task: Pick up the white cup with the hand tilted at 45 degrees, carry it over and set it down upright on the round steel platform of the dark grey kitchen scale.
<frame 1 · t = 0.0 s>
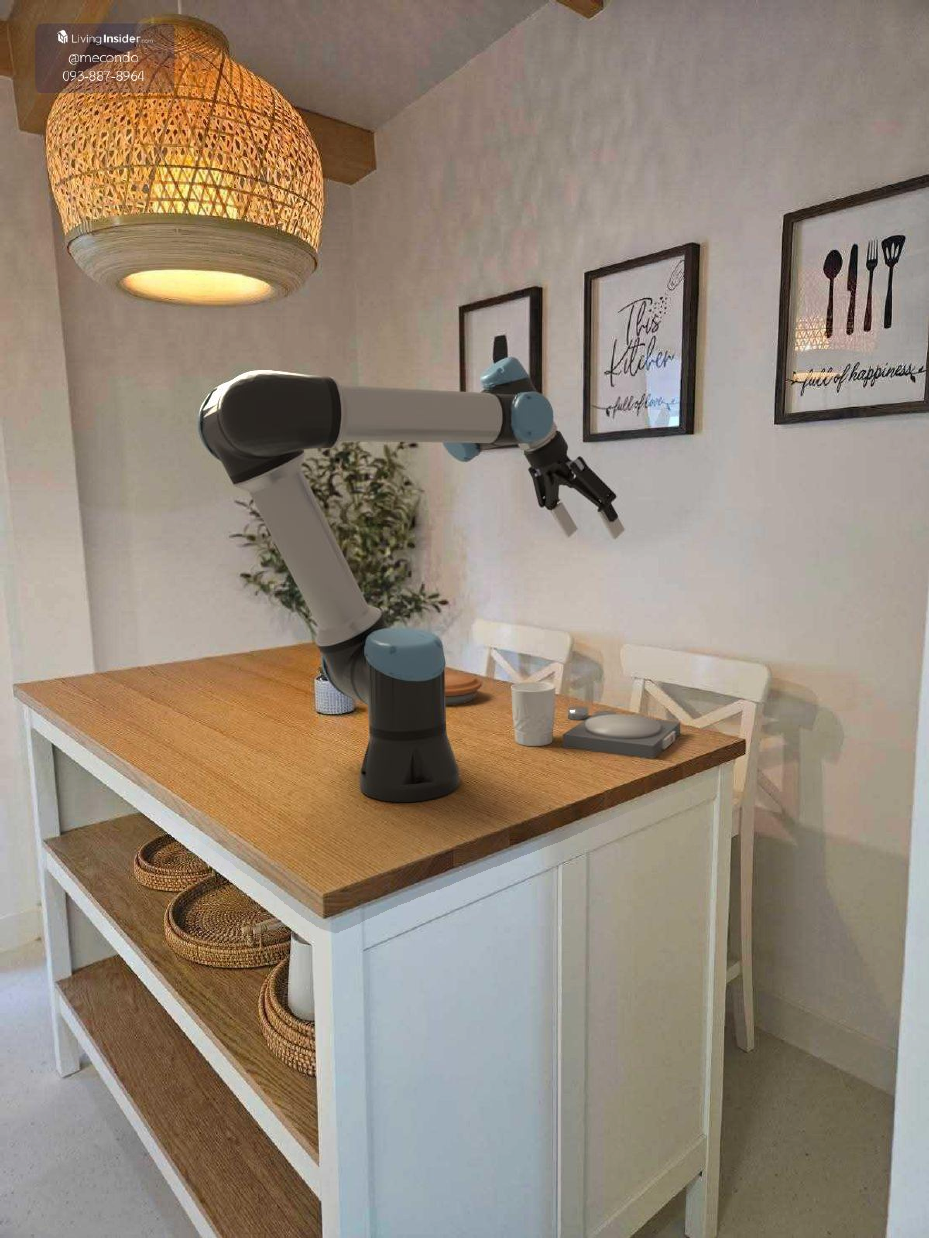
hand: (595, 533, 154), 36 cm above the table, tool tilted 35°, fingers open, 13 cm apart
spacer a: (605, 723, 156), on the table
scale: (622, 740, 144), on the table
spacer b: (578, 718, 160), on the table
pie: (447, 700, 179), on the table
white cup: (533, 742, 145), on the table
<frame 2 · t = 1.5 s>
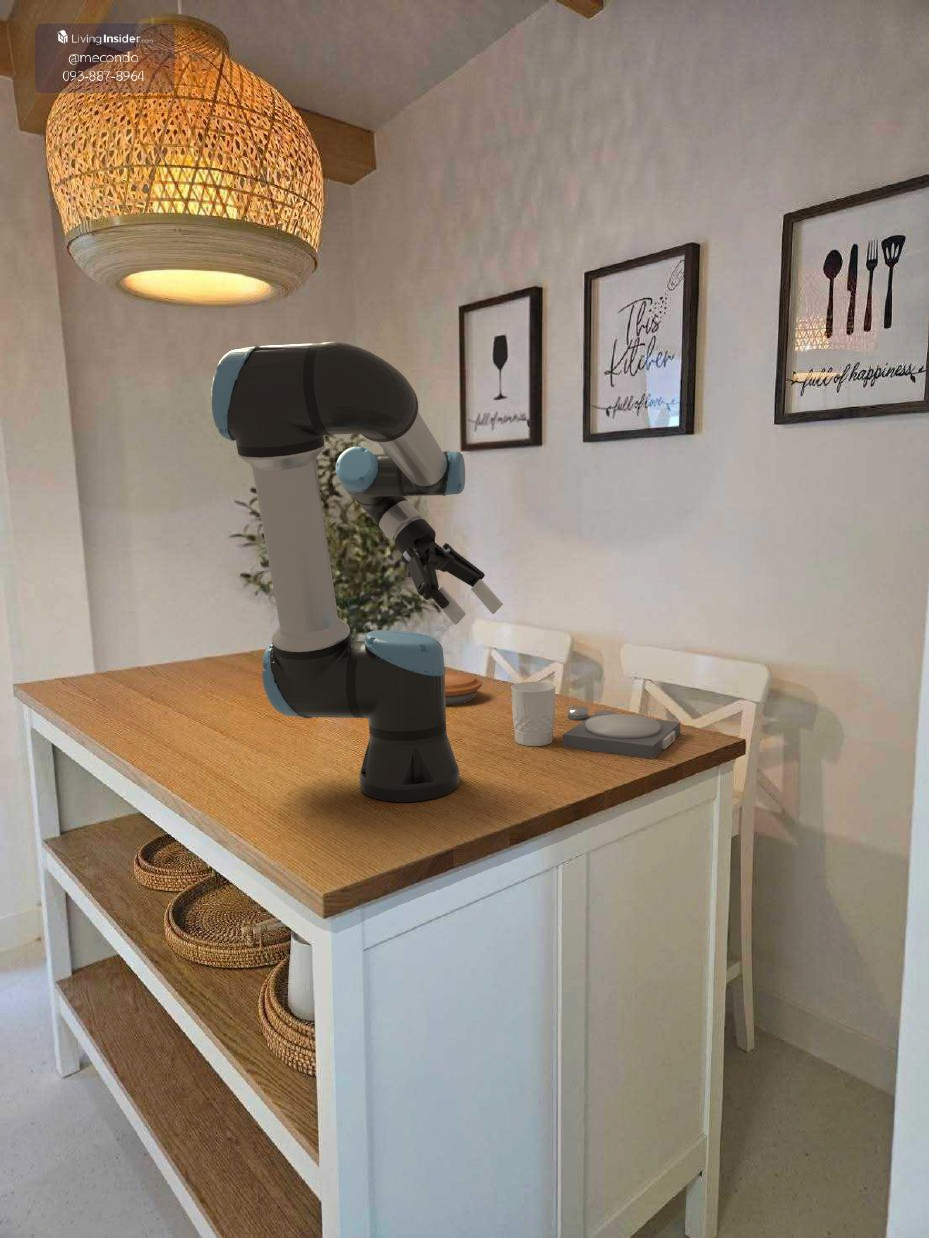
hand: (480, 614, 147), 22 cm above the table, tool tilted 45°, fingers open, 13 cm apart
nothing on the table moved.
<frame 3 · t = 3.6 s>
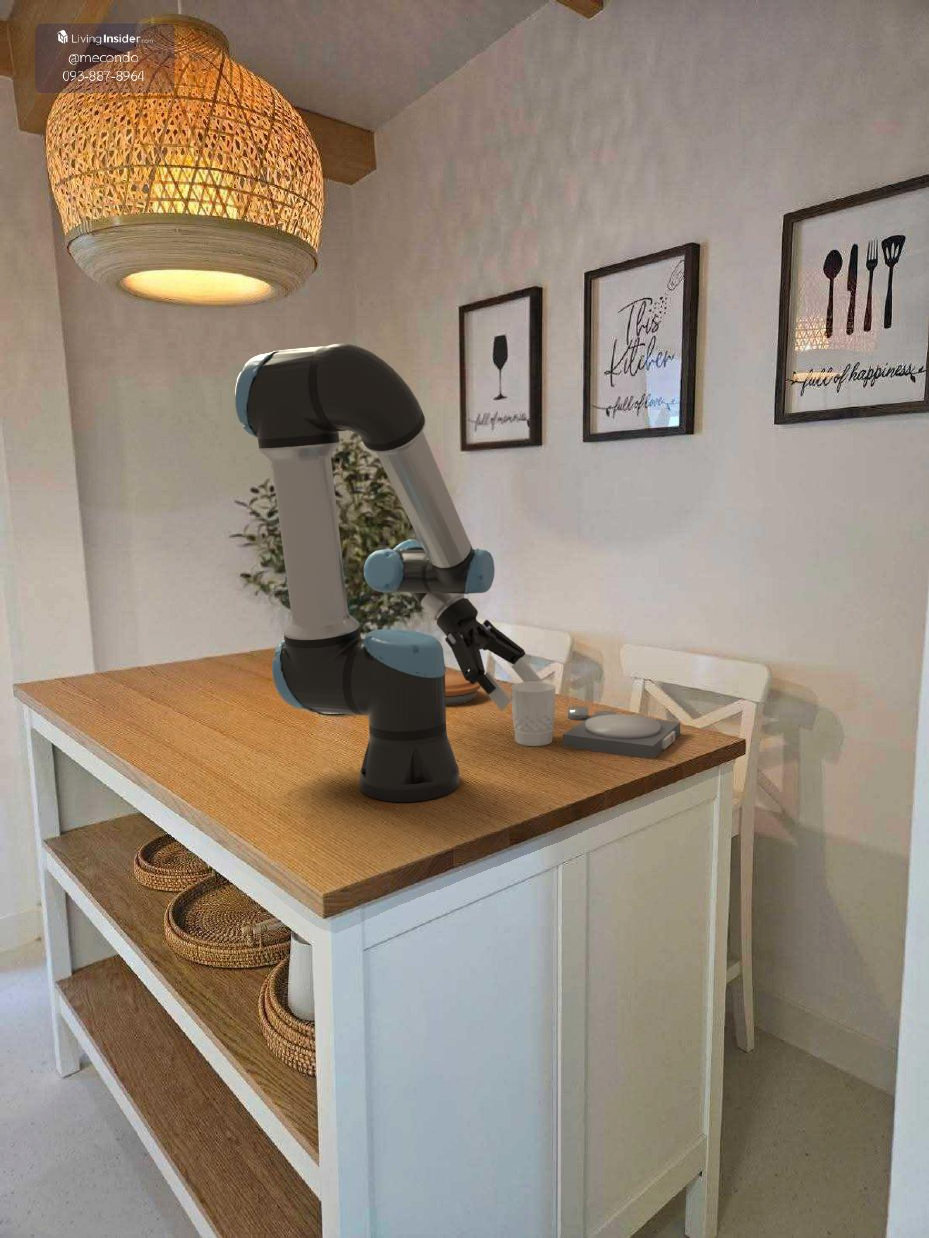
hand: (523, 696, 147), 7 cm above the table, tool tilted 45°, fingers open, 13 cm apart
nothing on the table moved.
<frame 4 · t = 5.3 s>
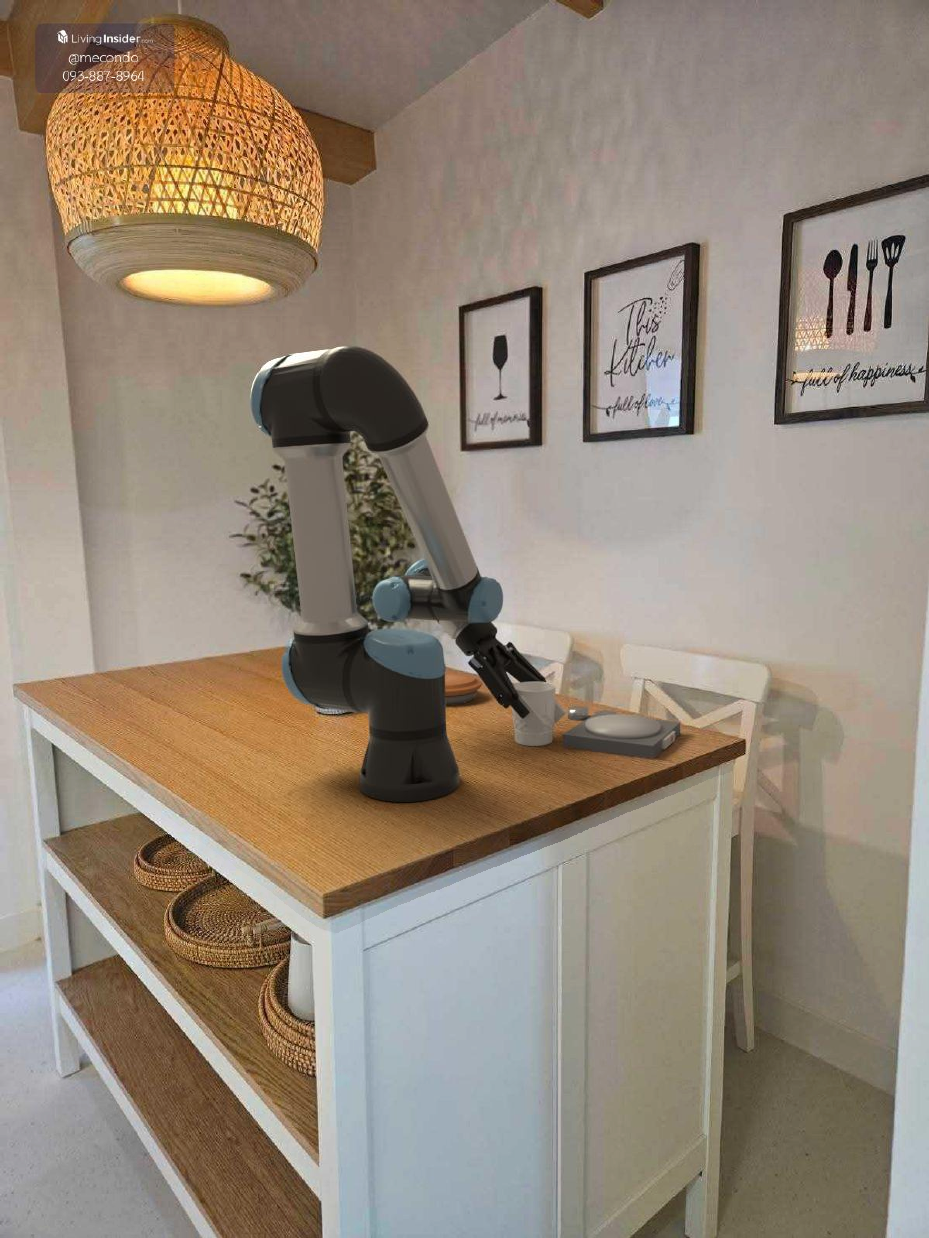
hand: (551, 723, 143), 4 cm above the table, tool tilted 45°, fingers closed on white cup, 8 cm apart
white cup: (534, 742, 145), on the table, touching gripper
everything else where it was.
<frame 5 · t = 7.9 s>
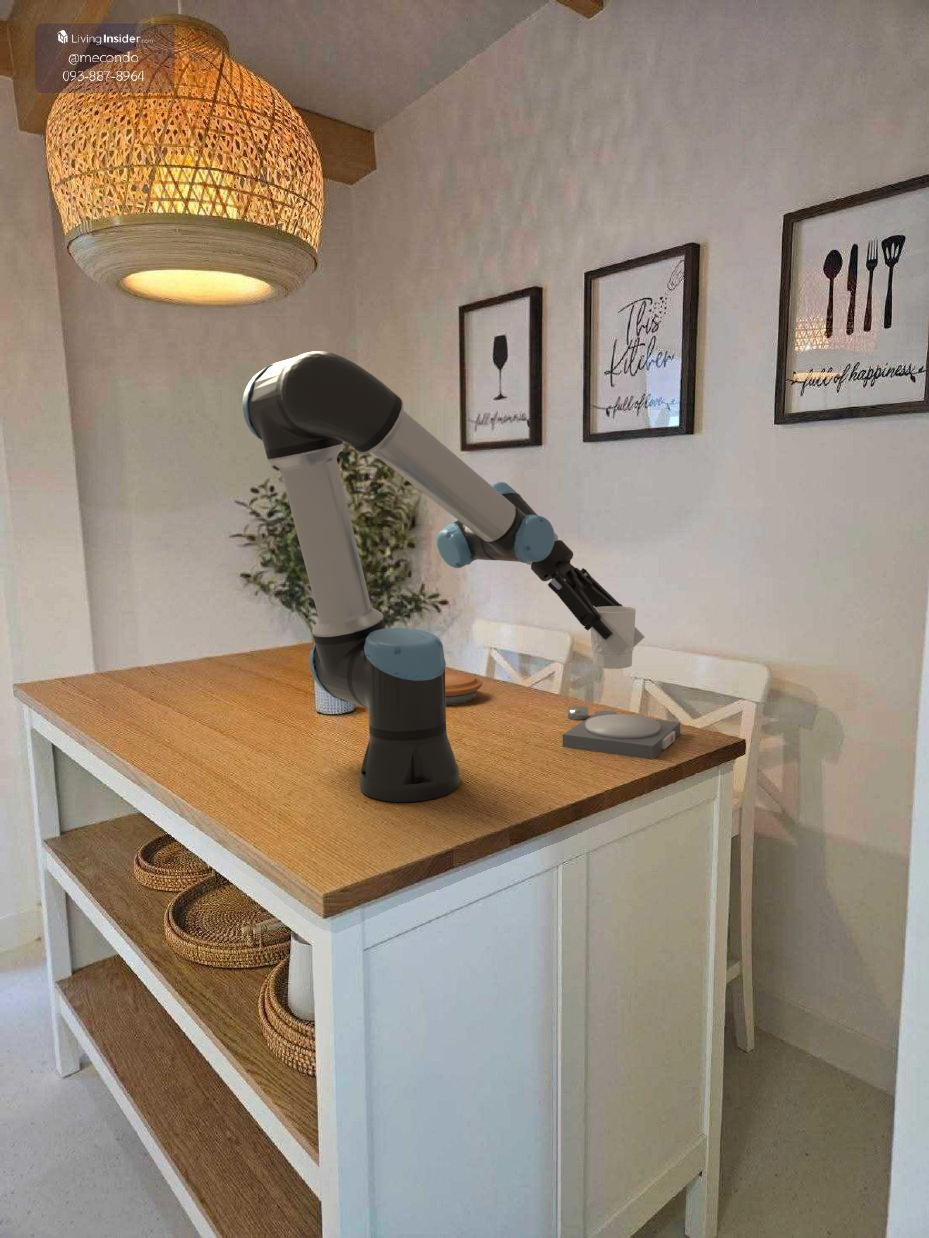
hand: (631, 646, 141), 17 cm above the table, tool tilted 45°, fingers closed on white cup, 8 cm apart
white cup: (612, 666, 143), point 13 cm above the table, touching gripper
everything else where it was.
when the fingers open (7 cm above the table, at t = 10.6 s): white cup stays where it is, resting on scale.
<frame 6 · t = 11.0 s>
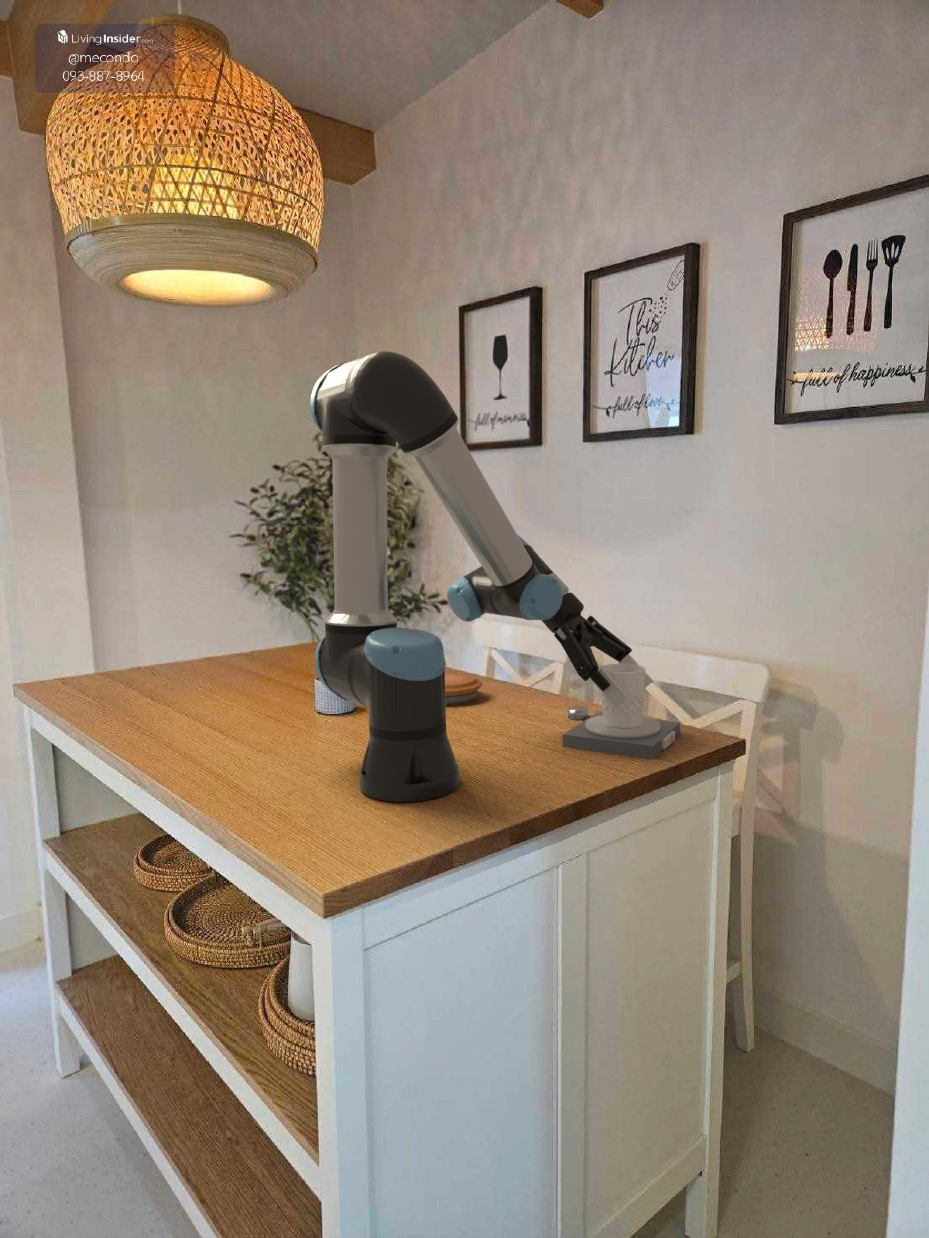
hand: (635, 693, 142), 9 cm above the table, tool tilted 45°, fingers open, 13 cm apart
white cup: (622, 724, 144), point 3 cm above the table, touching scale
everything else where it was.
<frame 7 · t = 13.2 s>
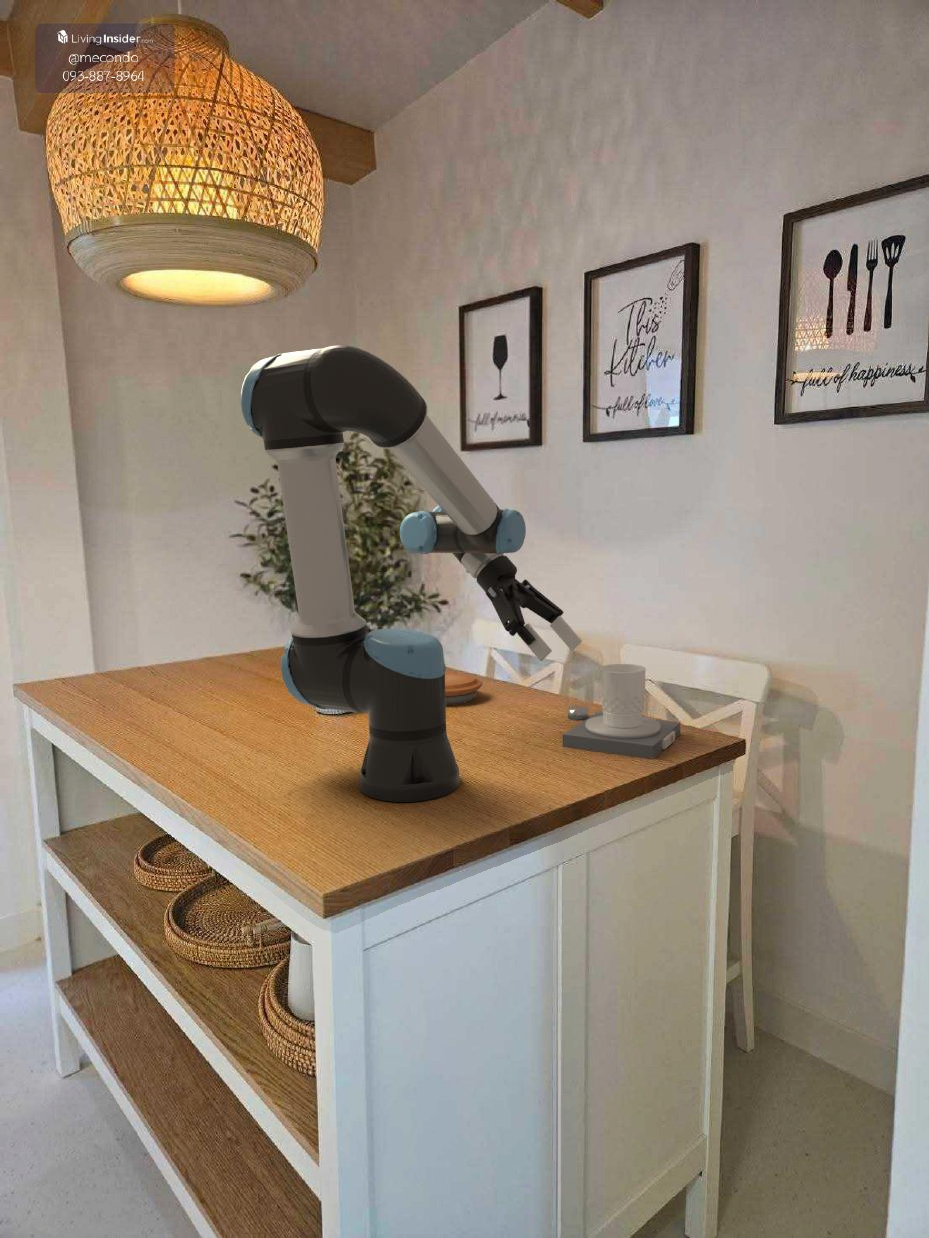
hand: (562, 651, 149), 15 cm above the table, tool tilted 45°, fingers open, 13 cm apart
nothing on the table moved.
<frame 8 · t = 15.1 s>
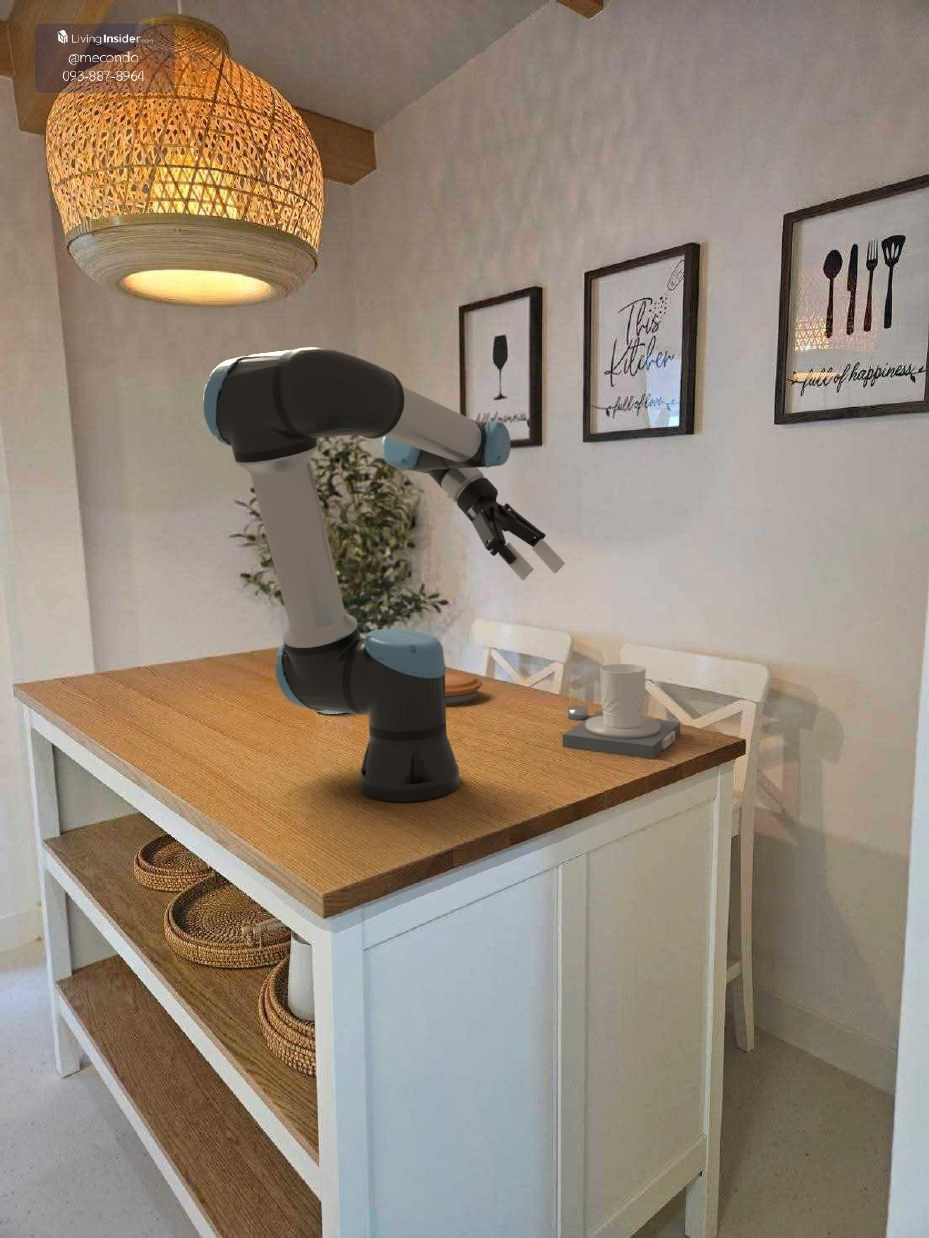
hand: (544, 571, 147), 30 cm above the table, tool tilted 45°, fingers open, 13 cm apart
nothing on the table moved.
at the end: white cup inside the target area on the scale (0.2 cm from its centre), point 2.8 cm above the scale's base; white cup tilted 0°; the gripper is holding nothing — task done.
